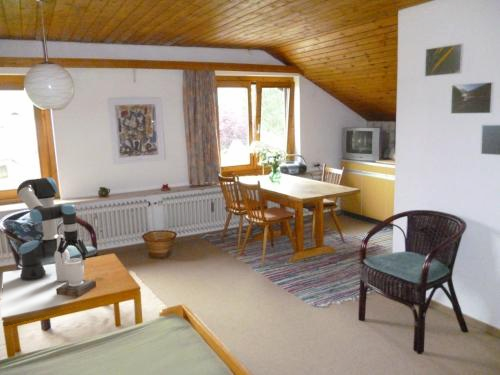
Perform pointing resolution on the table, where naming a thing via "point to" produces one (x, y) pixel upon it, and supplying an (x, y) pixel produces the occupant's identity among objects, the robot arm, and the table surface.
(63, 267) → the alcohol
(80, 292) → the plinth
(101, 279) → the table surface
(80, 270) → the jar
